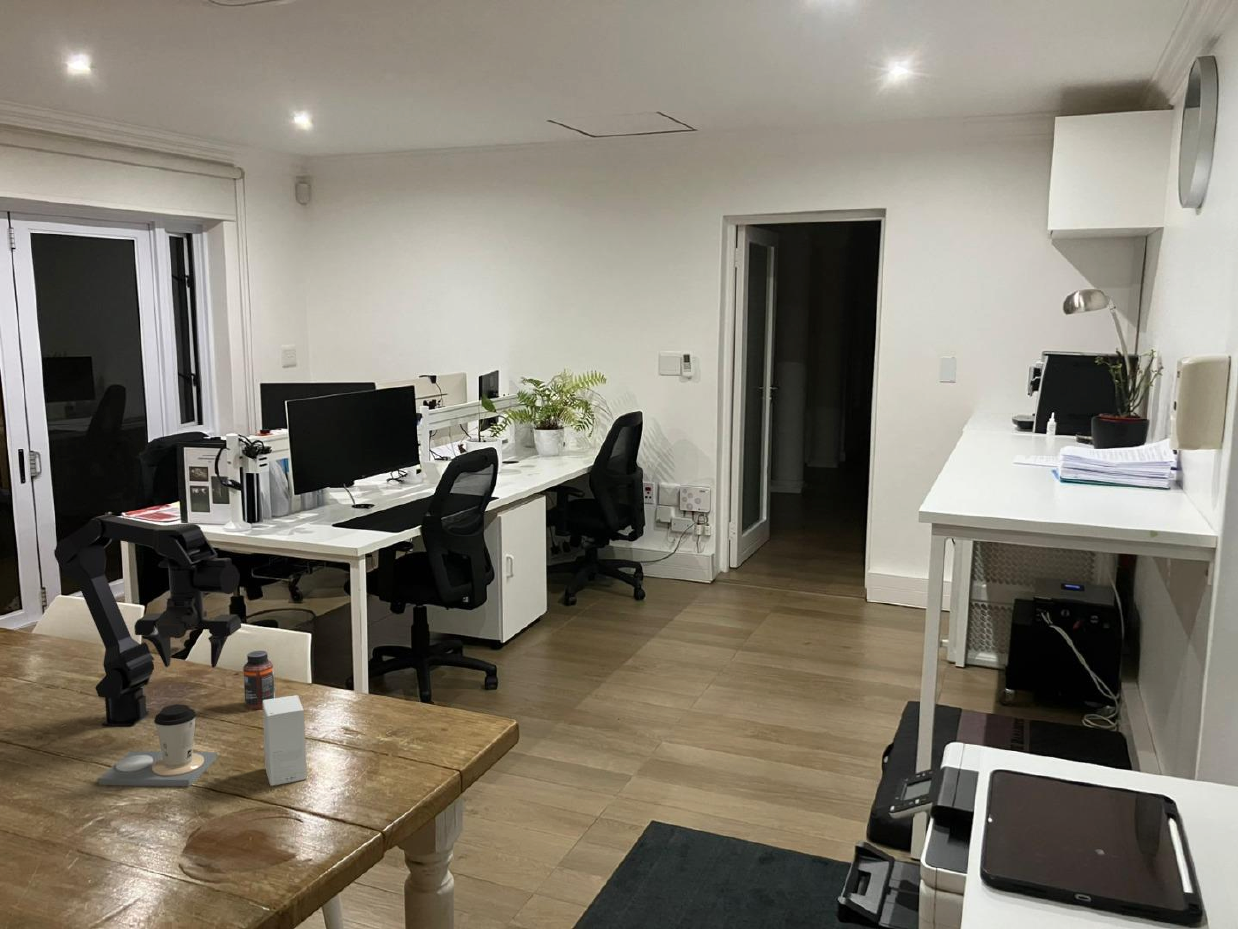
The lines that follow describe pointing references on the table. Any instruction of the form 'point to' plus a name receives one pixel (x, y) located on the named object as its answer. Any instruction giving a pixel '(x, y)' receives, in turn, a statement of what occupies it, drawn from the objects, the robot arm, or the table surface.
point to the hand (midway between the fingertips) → (190, 666)
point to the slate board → (155, 770)
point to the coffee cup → (176, 734)
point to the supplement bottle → (258, 679)
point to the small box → (284, 740)
